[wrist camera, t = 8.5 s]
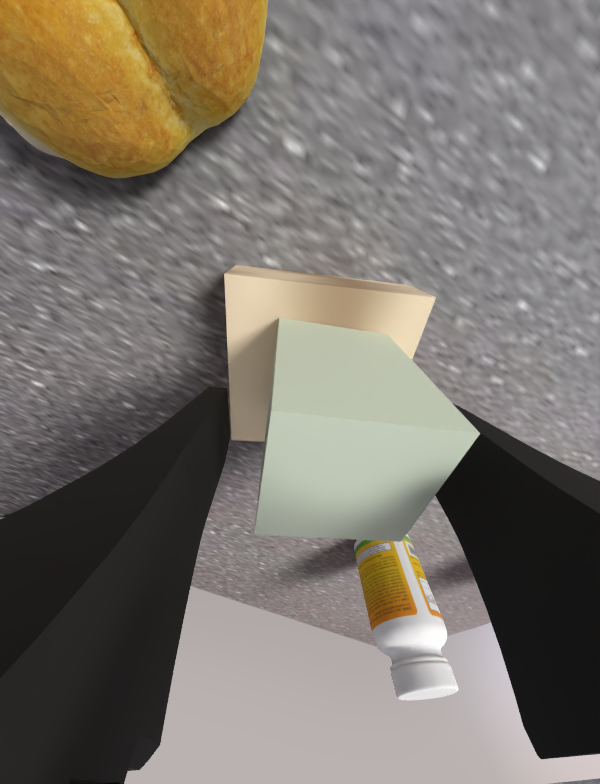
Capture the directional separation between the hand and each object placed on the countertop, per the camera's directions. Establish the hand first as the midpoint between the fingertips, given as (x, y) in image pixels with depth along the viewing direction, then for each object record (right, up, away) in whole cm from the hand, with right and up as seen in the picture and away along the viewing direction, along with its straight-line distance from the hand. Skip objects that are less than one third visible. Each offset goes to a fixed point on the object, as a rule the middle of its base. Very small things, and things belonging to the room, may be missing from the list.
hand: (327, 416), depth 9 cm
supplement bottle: (+7, -13, +16) cm, 22 cm away
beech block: (0, +3, +5) cm, 6 cm away
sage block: (0, +2, +2) cm, 3 cm away
